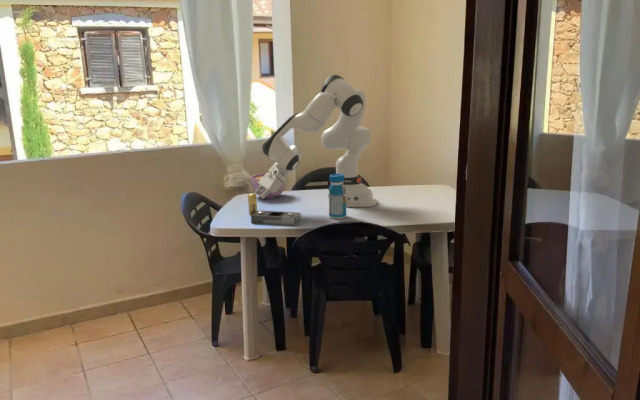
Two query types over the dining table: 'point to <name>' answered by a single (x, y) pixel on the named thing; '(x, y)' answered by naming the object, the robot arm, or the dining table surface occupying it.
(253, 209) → the brass pin
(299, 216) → the gray metal fixture block
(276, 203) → the dining table surface
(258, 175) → the bowl of food
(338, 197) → the beverage bottle
